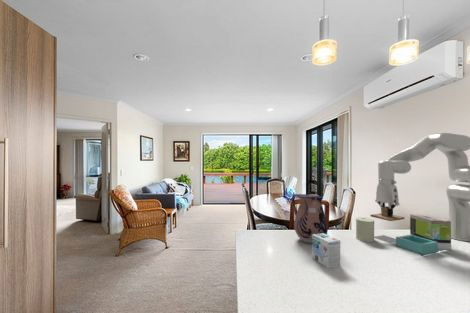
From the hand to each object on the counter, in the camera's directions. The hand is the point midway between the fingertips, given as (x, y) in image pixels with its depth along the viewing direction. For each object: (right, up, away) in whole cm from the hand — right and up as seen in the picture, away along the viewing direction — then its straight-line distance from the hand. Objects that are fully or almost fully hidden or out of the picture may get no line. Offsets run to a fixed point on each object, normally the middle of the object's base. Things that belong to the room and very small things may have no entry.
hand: (387, 214), depth 127 cm
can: (-13, -14, -1) cm, 19 cm away
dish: (+5, -14, -14) cm, 21 cm away
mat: (-1, -14, 0) cm, 14 cm away
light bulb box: (-47, -13, -30) cm, 57 cm away
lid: (0, -2, 0) cm, 2 cm away
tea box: (+18, -15, -7) cm, 24 cm away
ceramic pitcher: (-46, -14, -2) cm, 48 cm away
